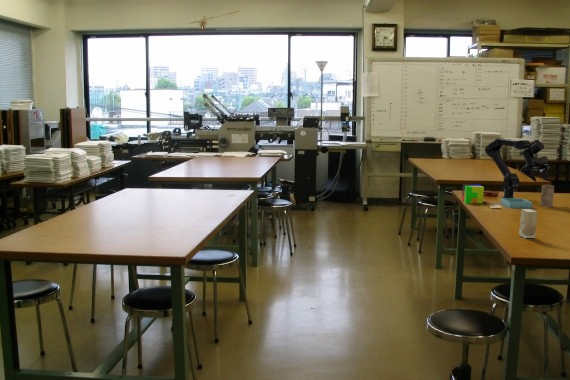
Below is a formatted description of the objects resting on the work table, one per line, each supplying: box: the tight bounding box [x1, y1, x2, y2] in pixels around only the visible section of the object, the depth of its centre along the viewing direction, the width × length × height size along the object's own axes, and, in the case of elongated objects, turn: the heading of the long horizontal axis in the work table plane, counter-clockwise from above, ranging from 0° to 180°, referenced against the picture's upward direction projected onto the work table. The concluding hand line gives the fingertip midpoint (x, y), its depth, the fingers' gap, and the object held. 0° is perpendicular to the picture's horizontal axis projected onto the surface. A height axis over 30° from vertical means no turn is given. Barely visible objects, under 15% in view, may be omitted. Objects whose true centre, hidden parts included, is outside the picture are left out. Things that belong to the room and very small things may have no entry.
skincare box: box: [518, 209, 538, 239], centre depth 245 cm, size 6×4×12 cm
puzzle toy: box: [461, 183, 485, 205], centre depth 336 cm, size 10×10×10 cm
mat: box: [496, 202, 537, 210], centre depth 324 cm, size 18×16×1 cm
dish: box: [500, 197, 533, 208], centre depth 324 cm, size 13×13×3 cm
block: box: [539, 184, 555, 208], centre depth 324 cm, size 4×4×12 cm
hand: (541, 181), depth 330 cm, fingers open, 9 cm apart
